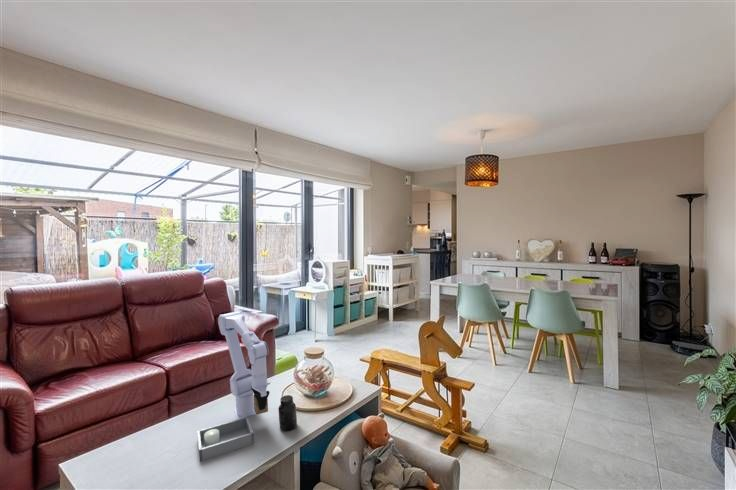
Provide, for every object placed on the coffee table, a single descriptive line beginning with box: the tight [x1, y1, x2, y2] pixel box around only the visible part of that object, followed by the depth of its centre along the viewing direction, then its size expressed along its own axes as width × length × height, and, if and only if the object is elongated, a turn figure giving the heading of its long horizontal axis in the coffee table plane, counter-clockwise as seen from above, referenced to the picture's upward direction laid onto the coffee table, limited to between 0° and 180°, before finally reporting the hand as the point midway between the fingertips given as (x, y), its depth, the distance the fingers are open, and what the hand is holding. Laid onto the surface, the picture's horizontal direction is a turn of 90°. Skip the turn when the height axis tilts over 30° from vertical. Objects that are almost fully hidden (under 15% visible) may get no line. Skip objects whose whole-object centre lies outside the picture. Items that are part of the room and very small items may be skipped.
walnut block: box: [253, 394, 269, 416], centre depth 136 cm, size 4×4×6 cm
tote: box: [196, 416, 255, 462], centre depth 127 cm, size 13×18×4 cm
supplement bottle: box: [277, 394, 298, 432], centre depth 136 cm, size 7×7×12 cm
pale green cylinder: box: [204, 429, 220, 447], centre depth 124 cm, size 5×5×5 cm
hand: (260, 406), depth 137 cm, fingers closed on walnut block, 4 cm apart
